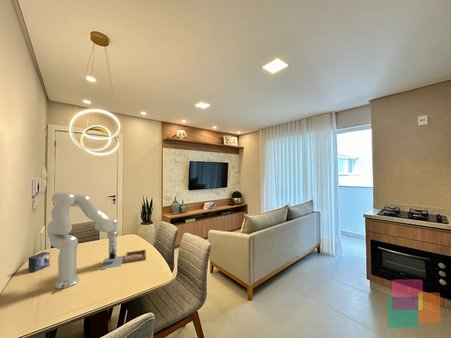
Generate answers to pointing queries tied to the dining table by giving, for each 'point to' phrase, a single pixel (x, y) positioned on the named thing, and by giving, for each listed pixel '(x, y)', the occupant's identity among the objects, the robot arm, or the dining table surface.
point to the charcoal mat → (112, 262)
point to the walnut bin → (135, 256)
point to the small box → (38, 261)
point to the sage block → (115, 254)
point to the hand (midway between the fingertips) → (112, 257)
